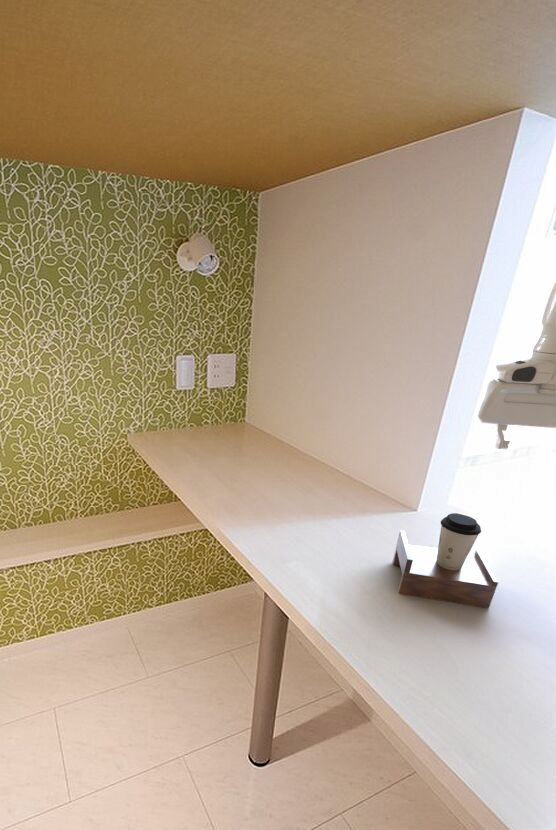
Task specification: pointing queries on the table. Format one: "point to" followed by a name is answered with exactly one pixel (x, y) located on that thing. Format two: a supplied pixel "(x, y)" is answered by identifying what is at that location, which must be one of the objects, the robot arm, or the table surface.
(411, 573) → the stand
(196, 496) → the table surface
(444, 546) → the coffee cup
